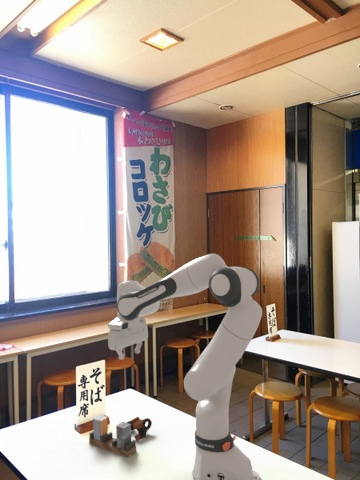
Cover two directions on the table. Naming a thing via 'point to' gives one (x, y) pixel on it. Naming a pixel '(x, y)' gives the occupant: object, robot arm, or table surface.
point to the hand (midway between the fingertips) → (129, 356)
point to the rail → (109, 447)
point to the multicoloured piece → (100, 427)
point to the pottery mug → (140, 427)
